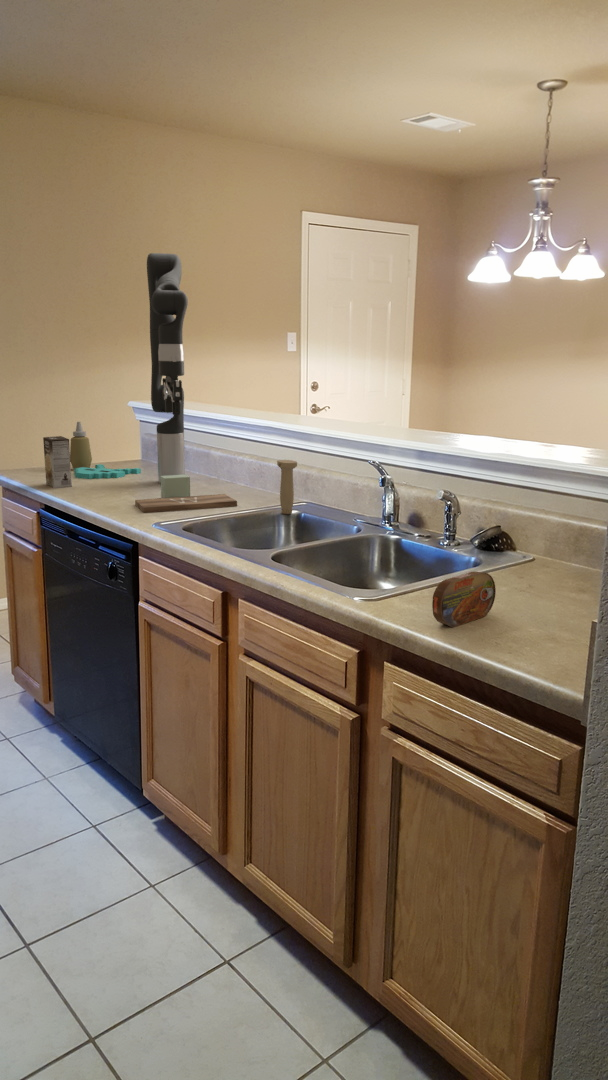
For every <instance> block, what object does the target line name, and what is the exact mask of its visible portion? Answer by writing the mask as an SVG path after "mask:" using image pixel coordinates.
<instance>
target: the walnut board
mask: <svg viewBox="0 0 608 1080" xmlns="http://www.w3.org/2000/svg"><path fill="white" fill-rule="evenodd" d="M134 504H135V505H134V506H136V507H137V508H139V510H140V511H142V512H143V513H156V512H157V513H158V512H159V513H160V512H169V511H171V512H172V511H173V512H174V511H184V510H186V511H187V510H198V509H199V510H201V509H213V508H224V507H226V508H228V507H238V501H237V500H236V499H234V498H232V497H231V496H229V495H227V494H225V493H221V494H205V495H203V494H202V495H190V496H188V497H172V498H161V497H160V498H159V497H158V498H146V499H135V500H134ZM200 508H201V509H200Z"/></svg>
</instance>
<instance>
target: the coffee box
mask: <svg viewBox="0 0 608 1080" xmlns="http://www.w3.org/2000/svg"><path fill="white" fill-rule="evenodd" d="M42 439H43V453H44V467H45V468H44V469H45V481H46V482H45V483H46V485H48V486H50V487H52V488H53V489H59V488H68V487H69V488H70V487H73V486H72V469H71V467H72V464H71V462H70V445H71V444H70V438H67V437H64V436H62V435H58V436H57V435H56V436H44V437H42Z"/></svg>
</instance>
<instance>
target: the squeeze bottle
mask: <svg viewBox="0 0 608 1080" xmlns="http://www.w3.org/2000/svg"><path fill="white" fill-rule="evenodd" d="M69 445H70V465H71V467H72V469H73V470H74V469H75V468H81V467H86V468H91V464H92V461H93V457H92V452H91V445H90V439H89V437H87V432H86V431H84V430H83V425H82V423H81V421H77V422H76V428H75V430H74V431H73V432H72V437H71V438H70V444H69Z"/></svg>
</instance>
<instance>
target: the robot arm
mask: <svg viewBox="0 0 608 1080" xmlns="http://www.w3.org/2000/svg"><path fill="white" fill-rule="evenodd" d="M146 276H147V287H148V298H149V299H148V300H149V340H150V357H151V376H150V377H151V378H150V379H151V380H150V381H151V382H150V383H151V384H150V403H151V409H152V410H153V412H155V413H167V414H168V413H169V414H170V413H171V414H172V415H173V416H171V417H170V418H169V419H168V420H164V421H162V422H160V423H158V424H157V425H156V448H157V453H156V454H157V479H158V483H159V484H161V476H168V475H186V463H185V461H186V459H185V456H186V455H185V454H186V453H185V428H184V427H185V426H184V424H185V423H184V418H185V417H184V415H185V414H184V413H185V412H184V410H185V409H184V408H185V407H184V406H185V392H184V389H183V383H182V381H183V380H181V379H179V377H181V376H184V375H185V358H184V357H185V356H184V355H185V354H184V353H185V352H184V346H183V343H184V341H183V340H184V339H183V326H184V320H185V316H186V312H187V309H188V303H189V302H188V296H187V294H186V293H185V291H182V290H181V288H180V284H181V280H182V262H181V258H180V256H178V255H177V254H175V253H161V252H152V253H149V254H148V255H147V257H146ZM163 377H164V378H163Z"/></svg>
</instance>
